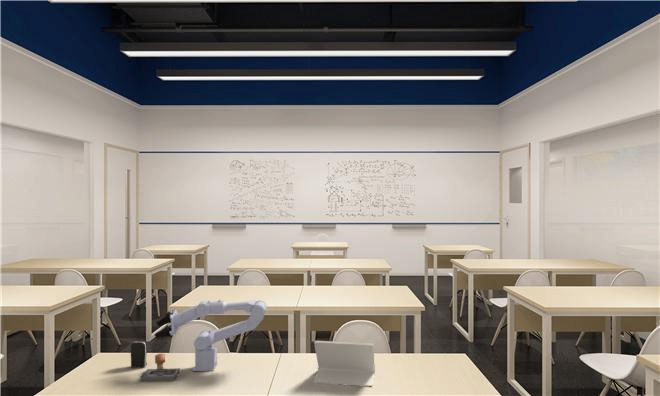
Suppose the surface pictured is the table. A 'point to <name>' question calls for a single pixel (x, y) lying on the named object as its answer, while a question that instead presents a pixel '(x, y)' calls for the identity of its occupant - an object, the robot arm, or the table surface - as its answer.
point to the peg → (159, 360)
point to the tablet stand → (345, 363)
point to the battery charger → (139, 353)
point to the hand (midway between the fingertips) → (156, 330)
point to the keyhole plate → (160, 375)
